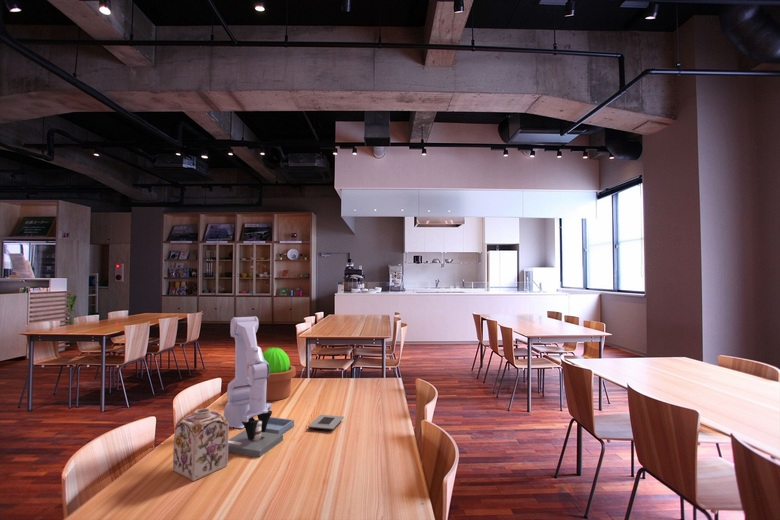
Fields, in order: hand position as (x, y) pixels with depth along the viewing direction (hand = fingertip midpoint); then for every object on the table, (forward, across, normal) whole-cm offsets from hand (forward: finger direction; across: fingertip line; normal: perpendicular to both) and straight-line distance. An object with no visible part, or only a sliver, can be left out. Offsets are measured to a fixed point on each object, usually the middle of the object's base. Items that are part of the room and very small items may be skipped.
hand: (256, 435), depth 136 cm
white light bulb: (+3, 0, 0) cm, 3 cm away
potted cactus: (+3, +51, +27) cm, 58 cm away
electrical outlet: (+4, +24, -16) cm, 29 cm away
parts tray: (+3, +14, +3) cm, 14 cm away
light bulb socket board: (+3, -1, +1) cm, 3 cm away
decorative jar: (+3, -20, +6) cm, 21 cm away
